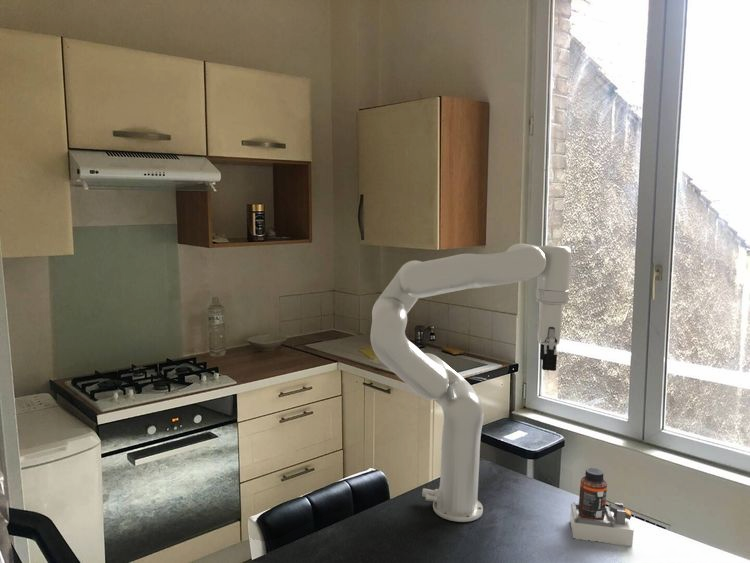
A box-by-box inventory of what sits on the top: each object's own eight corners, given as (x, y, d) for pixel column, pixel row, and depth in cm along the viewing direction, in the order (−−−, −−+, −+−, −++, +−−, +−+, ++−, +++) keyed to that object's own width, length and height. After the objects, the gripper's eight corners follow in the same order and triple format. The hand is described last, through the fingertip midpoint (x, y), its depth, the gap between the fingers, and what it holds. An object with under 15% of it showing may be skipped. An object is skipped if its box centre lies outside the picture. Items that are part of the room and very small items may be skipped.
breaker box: (573, 538, 144) (575, 509, 143) (570, 521, 152) (572, 493, 151) (632, 546, 141) (634, 517, 140) (625, 528, 149) (628, 500, 148)
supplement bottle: (606, 523, 143) (610, 477, 142) (579, 520, 144) (583, 475, 143) (602, 511, 149) (605, 467, 147) (576, 508, 150) (579, 464, 149)
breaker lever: (609, 510, 144) (612, 506, 144) (608, 506, 146) (610, 501, 146) (629, 519, 143) (632, 515, 143) (627, 515, 146) (630, 510, 145)
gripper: (535, 290, 158) (530, 355, 161) (537, 301, 141) (533, 373, 144) (565, 292, 157) (560, 357, 159) (571, 303, 140) (566, 375, 142)
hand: (547, 364), depth 151 cm, fingers open, 9 cm apart
